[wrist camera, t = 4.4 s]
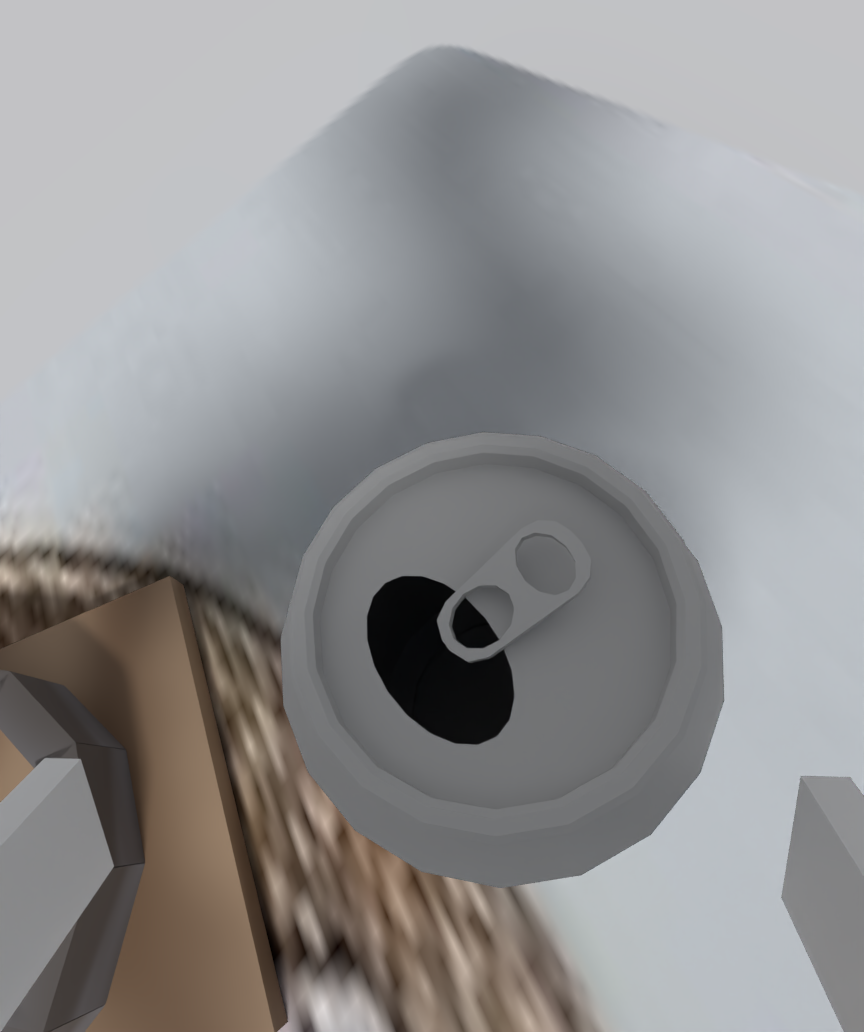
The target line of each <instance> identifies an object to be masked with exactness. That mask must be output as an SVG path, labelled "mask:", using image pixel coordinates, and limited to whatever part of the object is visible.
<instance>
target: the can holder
mask: <svg viewBox="0 0 864 1032" xmlns="http://www.w3.org/2000/svg"><path fill="white" fill-rule="evenodd" d="M44 758H65V759H81V761H82V765H83V768H84V771H85V774H86V777H87V781H88V784H89V787H90V790H91V793H92V797H93V800H94V803H95V806H96V810H97V813H98V816H99V819H100V822H101V826H102V829H103V832H104V835H105V839H106V842H107V845H108V848H109V851H110V855H111V858H112V861H113V864H114V867H113V869H112V870H111V872H110V873H109V874H108V876H107V877H106V879H105V880H104V882H103V883H102V885H101V886H100V888H99V889H98V891H97V892H96V893H95V895H94V896H93V898H92V899H91V901H90V902H89V904H88V905H87V907H86V908H85V910H84V911H83V912H82V914H81V915H80V917H79V918H78V920H77V921H76V923H75V924H74V926H73V927H72V929H71V930H70V931H69V933H68V934H67V936H66V937H65V939H64V940H63V942H62V943H61V945H60V946H59V948H58V949H57V950H56V952H55V953H54V955H53V956H52V958H51V959H50V961H49V962H48V964H47V965H46V967H45V968H44V969H43V971H42V972H41V974H40V975H39V977H38V978H37V980H36V981H35V983H34V984H33V986H32V987H31V988H30V990H29V991H28V993H27V994H26V996H25V997H24V999H23V1000H22V1002H21V1003H20V1005H19V1006H18V1007H17V1009H16V1010H15V1012H14V1013H13V1015H12V1016H11V1018H10V1019H9V1021H8V1022H7V1024H6V1025H5V1026H4V1028H3V1029H2V1031H1V1032H277V1031H278V1030H279V1029H280V1028H282V1027H283V1026H284V1025H285V1024H286V1023H287V1022H288V1021H287V1017H286V1012H285V1008H284V1004H283V1000H282V996H281V991H280V987H279V983H278V979H277V975H276V970H275V966H274V962H273V958H272V954H271V950H270V945H269V941H268V937H267V933H266V929H265V924H264V920H263V916H262V912H261V908H260V904H259V899H258V895H257V891H256V887H255V883H254V878H253V874H252V870H251V866H250V862H249V857H248V853H247V849H246V845H245V841H244V837H243V832H242V828H241V824H240V820H239V816H238V811H237V807H236V803H235V799H234V795H233V790H232V786H231V782H230V778H229V774H228V770H227V765H226V761H225V757H224V753H223V749H222V744H221V740H220V736H219V732H218V728H217V724H216V719H215V715H214V711H213V707H212V703H211V698H210V694H209V690H208V686H207V682H206V677H205V673H204V669H203V665H202V661H201V657H200V652H199V648H198V644H197V640H196V636H195V631H194V627H193V623H192V619H191V615H190V611H189V606H188V602H187V598H186V594H185V590H184V585H183V584H181V583H180V582H178V581H177V580H175V579H174V578H172V577H171V576H168V577H166V578H164V579H161V580H159V581H157V582H154V583H152V584H150V585H147V586H145V587H143V588H140V589H138V590H136V591H133V592H131V593H129V594H126V595H124V596H122V597H119V598H117V599H115V600H113V601H110V602H108V603H106V604H103V605H101V606H99V607H96V608H94V609H92V610H89V611H87V612H85V613H82V614H80V615H78V616H75V617H73V618H71V619H68V620H66V621H64V622H62V623H59V624H57V625H55V626H52V627H50V628H48V629H45V630H43V631H41V632H38V633H36V634H34V635H31V636H29V637H27V638H24V639H22V640H20V641H17V642H15V643H13V644H11V645H8V646H6V647H4V648H1V649H0V802H1V801H2V800H3V799H4V798H5V797H6V796H7V795H8V794H9V793H10V792H11V791H12V790H13V789H14V788H15V787H16V786H17V785H18V784H19V783H20V782H21V781H22V780H23V779H24V778H25V777H26V776H27V775H28V774H29V773H30V772H31V771H32V770H33V769H34V768H35V767H36V766H37V765H38V764H39V763H40V762H41V761H42V760H43V759H44Z"/></svg>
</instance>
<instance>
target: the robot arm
mask: <svg viewBox="0 0 864 1032" xmlns="http://www.w3.org/2000/svg"><path fill="white" fill-rule="evenodd" d="M113 867H114V864H113V861H112V858H111V855H110V851H109V848H108V845H107V842H106V839H105V835H104V832H103V829H102V826H101V822H100V819H99V816H98V813H97V810H96V806H95V803H94V800H93V797H92V793H91V790H90V787H89V784H88V781H87V777H86V774H85V771H84V768H83V765H82V761H81V759H65V758H44V759H43V760H42V761H41V762H40V763H39V764H38V765H37V766H36V767H35V768H34V769H33V770H32V771H31V772H30V773H29V774H28V775H27V776H26V777H25V778H24V779H23V780H22V781H21V782H20V783H19V784H18V785H17V786H16V787H15V788H14V789H13V790H12V791H11V792H10V793H9V794H8V795H7V796H6V797H5V798H4V799H3V800H2V801H1V802H0V1032H1V1031H2V1029H3V1028H4V1026H5V1025H6V1024H7V1022H8V1021H9V1019H10V1018H11V1016H12V1015H13V1013H14V1012H15V1010H16V1009H17V1007H18V1006H19V1005H20V1003H21V1002H22V1000H23V999H24V997H25V996H26V994H27V993H28V991H29V990H30V988H31V987H32V986H33V984H34V983H35V981H36V980H37V978H38V977H39V975H40V974H41V972H42V971H43V969H44V968H45V967H46V965H47V964H48V962H49V961H50V959H51V958H52V956H53V955H54V953H55V952H56V950H57V949H58V948H59V946H60V945H61V943H62V942H63V940H64V939H65V937H66V936H67V934H68V933H69V931H70V930H71V929H72V927H73V926H74V924H75V923H76V921H77V920H78V918H79V917H80V915H81V914H82V912H83V911H84V910H85V908H86V907H87V905H88V904H89V902H90V901H91V899H92V898H93V896H94V895H95V893H96V892H97V891H98V889H99V888H100V886H101V885H102V883H103V882H104V880H105V879H106V877H107V876H108V874H109V873H110V872H111V870H112V869H113ZM781 898H782V900H783V902H784V904H785V906H786V909H787V911H788V913H789V915H790V917H791V919H792V921H793V924H794V926H795V928H796V930H797V932H798V934H799V937H800V939H801V941H802V943H803V945H804V947H805V949H806V952H807V954H808V956H809V958H810V960H811V962H812V964H813V967H814V969H815V971H816V973H817V975H818V977H819V980H820V982H821V984H822V986H823V988H824V990H825V992H826V995H827V997H828V999H829V1001H830V1003H831V1005H832V1008H833V1010H834V1012H835V1014H836V1016H837V1018H838V1020H839V1023H840V1025H841V1027H842V1029H843V1031H844V1032H864V796H863V794H862V793H861V792H860V790H859V789H858V787H857V786H856V785H855V783H854V782H853V781H852V779H851V778H850V777H825V776H801V778H800V785H799V791H798V797H797V803H796V810H795V816H794V822H793V828H792V834H791V841H790V847H789V853H788V859H787V866H786V872H785V878H784V884H783V891H782V897H781Z"/></svg>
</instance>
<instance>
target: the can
mask: <svg viewBox="0 0 864 1032" xmlns="http://www.w3.org/2000/svg"><path fill="white" fill-rule="evenodd" d="M281 659H282V683H283V706H284V708H285V711H286V714H287V716H288V719H289V722H290V725H291V727H292V730H293V733H294V735H295V738H296V741H297V743H298V746H299V749H300V752H301V754H302V757H303V760H304V762H305V765H306V768H307V771H308V773H309V774H310V775H311V776H312V778H313V779H314V780H315V781H316V783H317V784H318V785H319V786H320V788H321V789H322V790H323V791H324V792H325V794H326V795H327V796H328V797H329V799H330V800H331V801H332V802H333V804H334V805H335V806H336V807H337V809H338V810H339V811H340V812H341V814H342V815H343V816H344V817H345V819H346V820H347V821H348V822H349V823H350V825H351V826H352V827H353V828H354V830H355V831H357V832H358V833H360V834H362V835H363V836H365V837H367V838H368V839H370V840H371V841H373V842H375V843H376V844H378V845H379V846H381V847H383V848H384V849H386V850H388V851H389V852H391V853H392V854H394V855H396V856H397V857H399V858H400V859H402V860H404V861H405V862H407V863H409V864H410V865H412V866H413V867H415V868H417V869H418V870H420V871H421V872H426V873H431V874H435V875H440V876H445V877H450V878H455V879H460V880H464V881H469V882H474V883H479V884H484V885H489V886H493V887H498V888H504V887H510V886H516V885H523V884H529V883H535V882H541V881H548V880H554V879H560V878H567V877H573V876H579V875H582V874H584V873H586V872H587V871H589V870H591V869H593V868H594V867H596V866H598V865H599V864H601V863H603V862H605V861H606V860H608V859H610V858H612V857H613V856H615V855H617V854H618V853H620V852H622V851H624V850H625V849H627V848H629V847H630V846H632V845H634V844H636V843H637V842H639V841H641V840H642V839H644V838H646V837H648V836H649V835H651V834H652V833H653V831H654V830H655V829H656V828H657V826H658V825H659V824H660V823H661V821H662V820H663V819H664V818H665V816H666V815H667V814H668V813H669V811H670V810H671V809H672V808H673V806H674V805H675V804H676V803H677V801H678V800H679V799H680V798H681V796H682V795H683V794H684V793H685V791H686V790H687V789H688V788H689V786H690V785H691V784H692V783H693V782H694V780H695V779H696V778H697V777H698V775H699V774H700V772H701V769H702V766H703V763H704V760H705V757H706V754H707V751H708V748H709V745H710V742H711V739H712V736H713V733H714V730H715V727H716V724H717V721H718V718H719V714H720V711H721V708H722V705H723V702H724V679H723V641H722V625H721V623H720V620H719V617H718V615H717V612H716V609H715V606H714V604H713V601H712V598H711V595H710V593H709V590H708V587H707V585H706V582H705V579H704V576H703V574H702V571H701V568H700V565H699V563H698V561H697V559H696V558H695V557H694V555H693V554H692V553H691V552H690V550H689V549H688V548H687V546H686V545H685V542H684V540H683V539H682V538H681V536H680V535H679V534H678V533H677V531H676V530H675V529H674V527H673V526H672V525H671V524H670V522H669V521H668V520H667V518H666V517H665V516H664V514H663V513H662V512H661V511H660V509H659V508H658V507H657V505H656V504H655V503H654V502H653V500H652V499H651V498H650V496H649V495H648V494H647V492H646V491H645V490H643V489H642V488H640V487H639V486H638V485H636V484H635V483H633V482H632V481H631V480H629V479H628V478H626V477H625V476H624V475H622V474H621V473H619V472H618V471H617V470H615V469H614V468H612V467H611V466H610V465H608V464H607V463H605V462H604V461H603V460H601V459H600V458H598V457H597V456H595V455H592V454H590V453H587V452H584V451H581V450H578V449H575V448H573V447H570V446H567V445H564V444H561V443H558V442H556V441H553V440H550V439H547V438H544V437H542V436H533V435H518V434H504V433H490V432H480V433H475V434H470V435H465V436H460V437H455V438H450V439H445V440H440V441H434V442H429V443H426V444H424V445H422V446H420V447H418V448H416V449H414V450H412V451H410V452H408V453H406V454H404V455H402V456H400V457H398V458H396V459H394V460H392V461H390V462H388V463H386V464H384V465H382V466H380V467H378V468H376V469H375V470H373V471H372V472H371V473H370V474H369V475H368V476H367V477H366V478H365V479H364V480H362V481H361V482H360V483H359V484H358V485H357V486H356V487H355V488H354V489H352V490H351V491H350V492H349V493H348V494H347V495H346V496H345V497H344V498H343V499H341V500H340V501H339V502H338V503H337V504H336V505H335V506H334V507H333V508H332V510H331V511H330V513H329V515H328V516H327V518H326V519H325V521H324V523H323V524H322V526H321V528H320V529H319V531H318V532H317V534H316V536H315V537H314V539H313V540H312V542H311V544H310V545H309V547H308V549H307V550H306V552H305V553H304V555H303V557H302V561H301V564H300V568H299V572H298V575H297V578H296V582H295V586H294V590H293V593H292V597H291V601H290V605H289V609H288V612H287V616H286V620H285V624H284V627H283V631H282V635H281Z"/></svg>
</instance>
